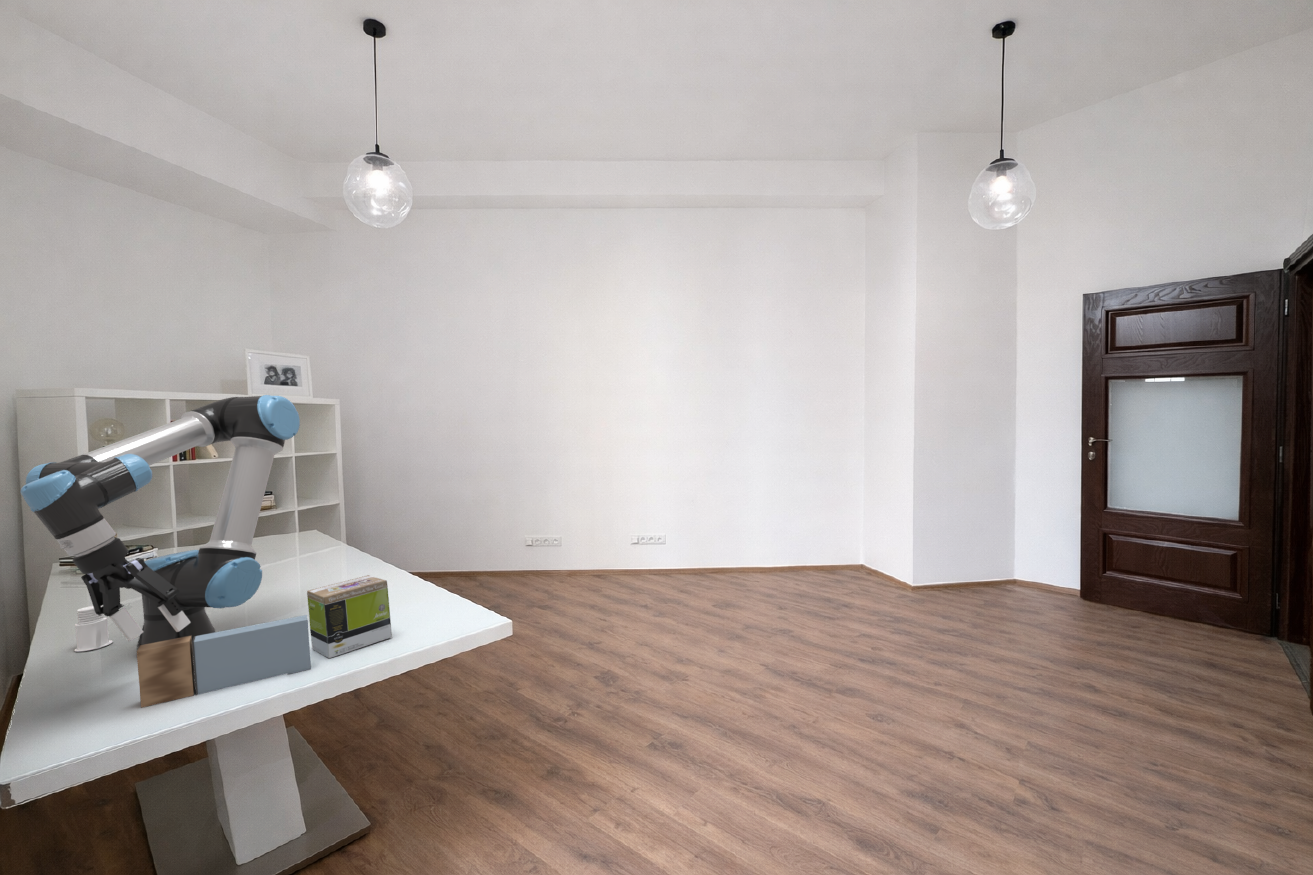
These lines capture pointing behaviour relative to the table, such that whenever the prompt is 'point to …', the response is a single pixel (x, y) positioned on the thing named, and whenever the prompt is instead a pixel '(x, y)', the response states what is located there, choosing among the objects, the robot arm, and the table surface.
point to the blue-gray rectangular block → (250, 653)
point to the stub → (166, 671)
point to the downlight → (91, 630)
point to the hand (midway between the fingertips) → (159, 632)
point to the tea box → (349, 615)
